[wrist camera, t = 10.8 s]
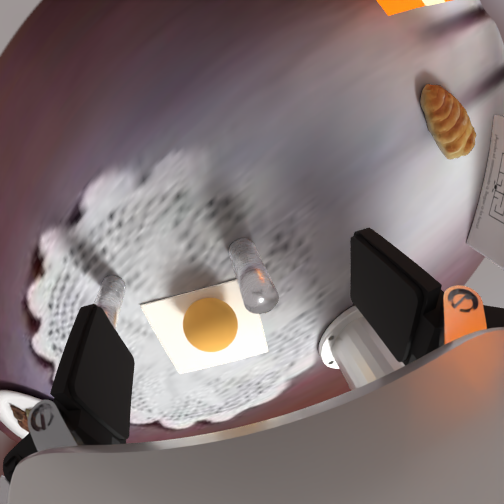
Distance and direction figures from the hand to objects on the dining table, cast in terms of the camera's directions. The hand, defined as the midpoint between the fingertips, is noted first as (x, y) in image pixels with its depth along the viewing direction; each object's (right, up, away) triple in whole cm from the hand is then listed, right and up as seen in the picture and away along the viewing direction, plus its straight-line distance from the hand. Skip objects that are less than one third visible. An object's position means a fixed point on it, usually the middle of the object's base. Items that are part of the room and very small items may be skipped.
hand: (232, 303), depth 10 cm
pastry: (+23, +17, +16) cm, 33 cm away
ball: (-3, -5, +18) cm, 19 cm away
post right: (0, +2, +18) cm, 18 cm away
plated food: (-40, -34, +28) cm, 59 cm away
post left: (-13, -2, +17) cm, 21 cm away
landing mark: (-4, -7, +22) cm, 23 cm away
